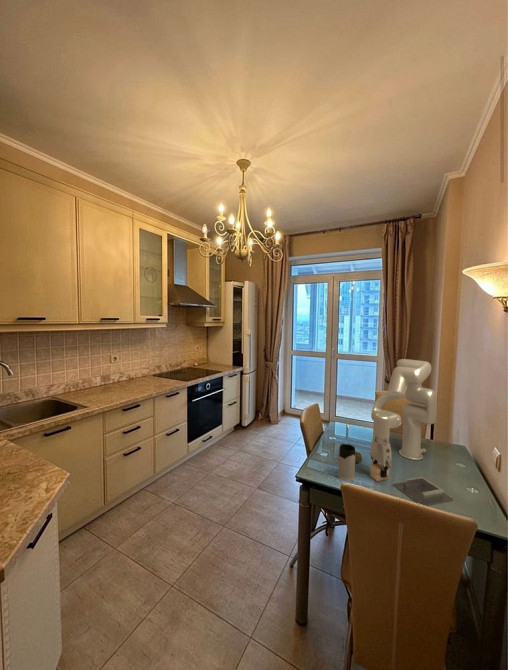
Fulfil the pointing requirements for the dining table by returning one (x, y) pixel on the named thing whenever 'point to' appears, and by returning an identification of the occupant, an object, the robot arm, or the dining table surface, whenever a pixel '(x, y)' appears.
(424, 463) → the dining table surface
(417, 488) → the cradle
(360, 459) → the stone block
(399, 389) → the robot arm
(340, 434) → the dining table surface
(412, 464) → the dining table surface
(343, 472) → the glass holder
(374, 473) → the oak lock block
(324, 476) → the dining table surface
